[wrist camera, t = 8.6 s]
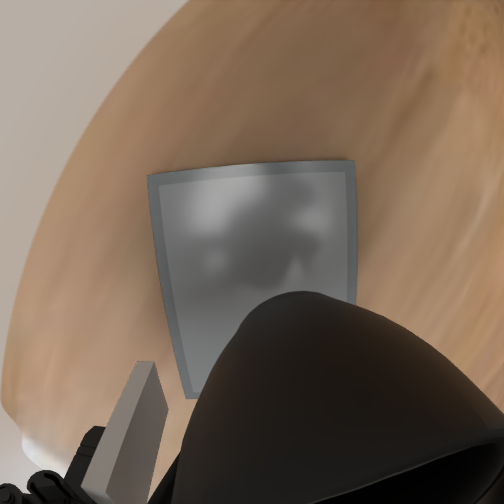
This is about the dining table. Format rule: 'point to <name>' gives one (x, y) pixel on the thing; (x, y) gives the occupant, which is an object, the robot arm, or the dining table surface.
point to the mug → (334, 416)
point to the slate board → (247, 247)
